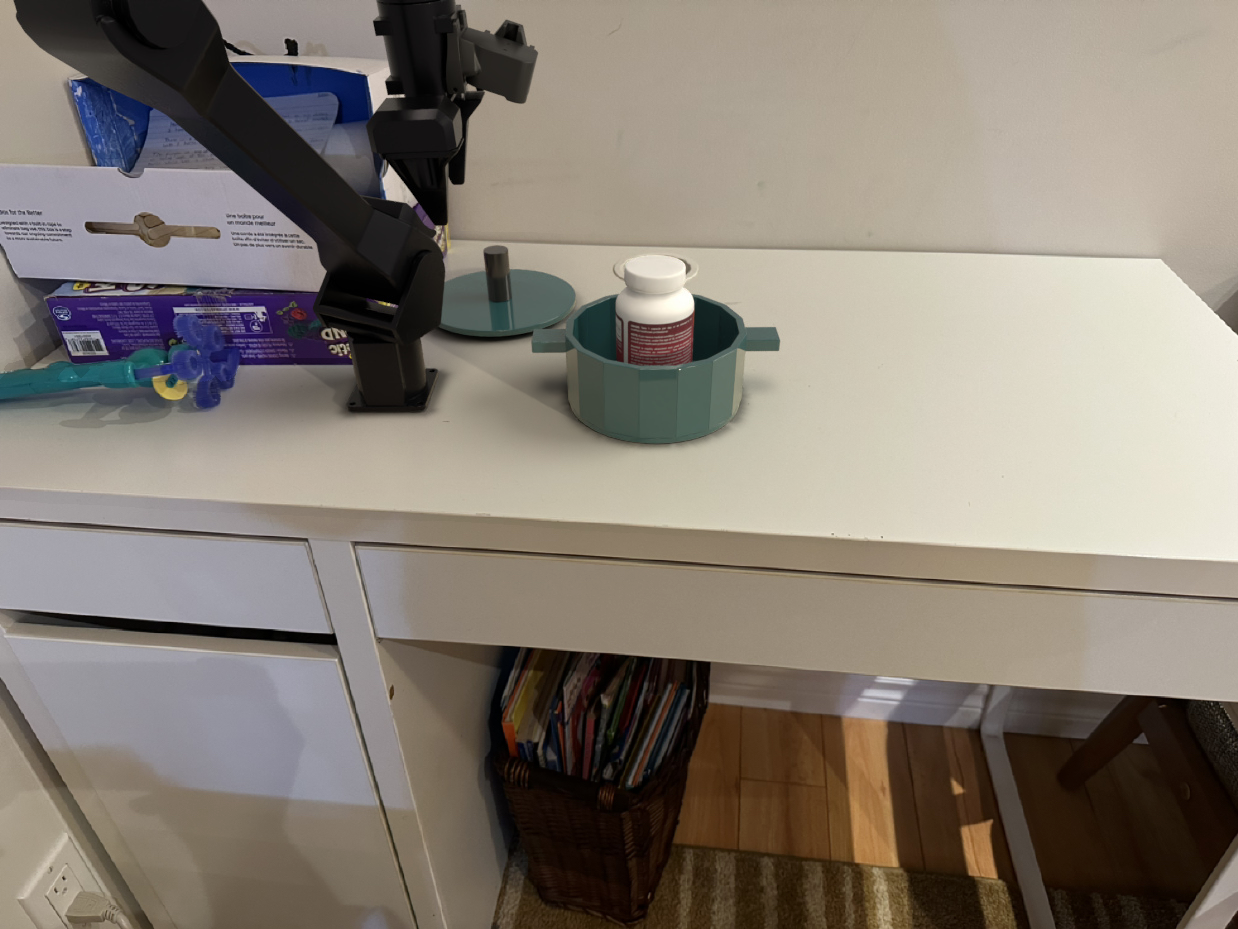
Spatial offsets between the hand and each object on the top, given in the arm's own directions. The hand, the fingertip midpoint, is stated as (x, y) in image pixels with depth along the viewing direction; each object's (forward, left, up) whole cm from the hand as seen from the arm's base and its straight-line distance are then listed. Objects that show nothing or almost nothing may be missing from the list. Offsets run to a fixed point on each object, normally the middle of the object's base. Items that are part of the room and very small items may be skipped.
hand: (450, 203), depth 72 cm
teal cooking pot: (-11, -17, -13) cm, 24 cm away
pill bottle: (-11, -17, -13) cm, 24 cm away
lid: (+7, -2, -13) cm, 15 cm away
